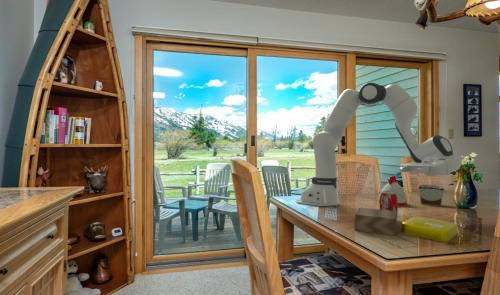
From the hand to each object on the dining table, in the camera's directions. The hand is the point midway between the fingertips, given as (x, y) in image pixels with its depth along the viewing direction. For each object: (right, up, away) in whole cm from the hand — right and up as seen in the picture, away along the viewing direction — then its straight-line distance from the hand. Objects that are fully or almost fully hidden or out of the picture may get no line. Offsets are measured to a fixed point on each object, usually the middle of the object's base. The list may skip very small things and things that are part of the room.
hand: (409, 170), depth 140 cm
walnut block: (-21, -21, -17) cm, 34 cm away
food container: (+28, -21, +32) cm, 47 cm away
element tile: (-5, -22, -23) cm, 32 cm away
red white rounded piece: (+8, -21, +34) cm, 40 cm away
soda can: (-11, -21, -4) cm, 24 cm away
